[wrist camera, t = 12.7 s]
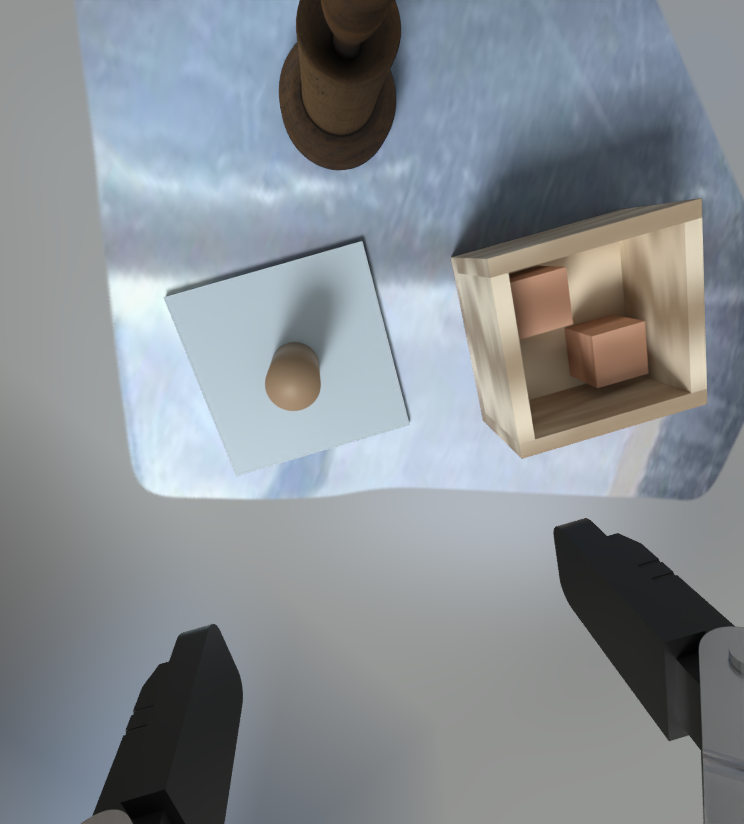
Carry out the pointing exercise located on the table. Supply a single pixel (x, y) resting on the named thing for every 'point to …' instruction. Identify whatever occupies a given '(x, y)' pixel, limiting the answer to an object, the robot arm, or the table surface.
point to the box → (590, 299)
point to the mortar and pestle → (341, 80)
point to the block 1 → (540, 300)
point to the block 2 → (607, 350)
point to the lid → (292, 357)
